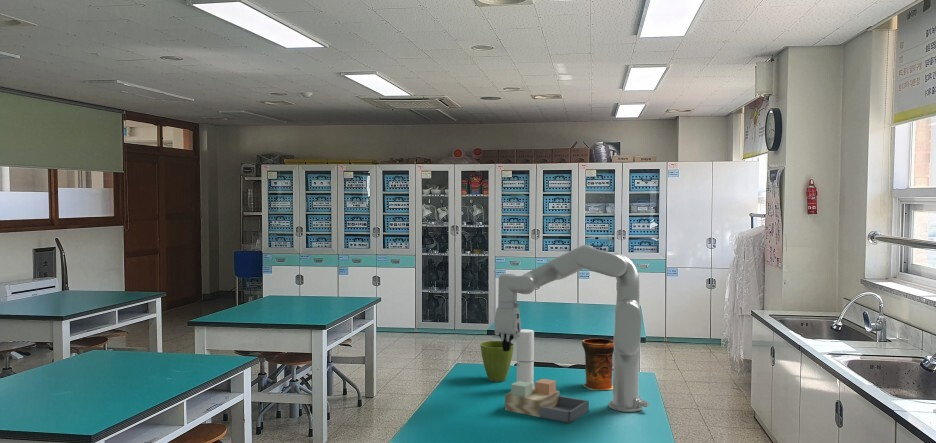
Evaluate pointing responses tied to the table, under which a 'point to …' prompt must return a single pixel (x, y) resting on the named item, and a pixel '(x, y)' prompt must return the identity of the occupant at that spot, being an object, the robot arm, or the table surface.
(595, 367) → the vessel
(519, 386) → the pale green block
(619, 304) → the robot arm
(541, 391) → the salmon rectangular block
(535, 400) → the striped wooden block
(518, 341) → the cylindrical container
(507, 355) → the flower pot
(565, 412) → the box
